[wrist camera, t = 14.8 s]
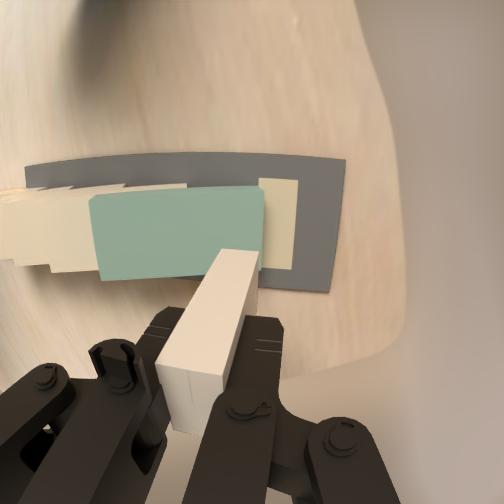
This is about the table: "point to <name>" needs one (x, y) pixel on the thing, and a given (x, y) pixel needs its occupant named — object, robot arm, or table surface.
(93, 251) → the domino
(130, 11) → the table surface
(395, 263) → the table surface
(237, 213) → the domino
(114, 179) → the mat
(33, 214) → the domino
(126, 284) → the table surface
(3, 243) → the domino
